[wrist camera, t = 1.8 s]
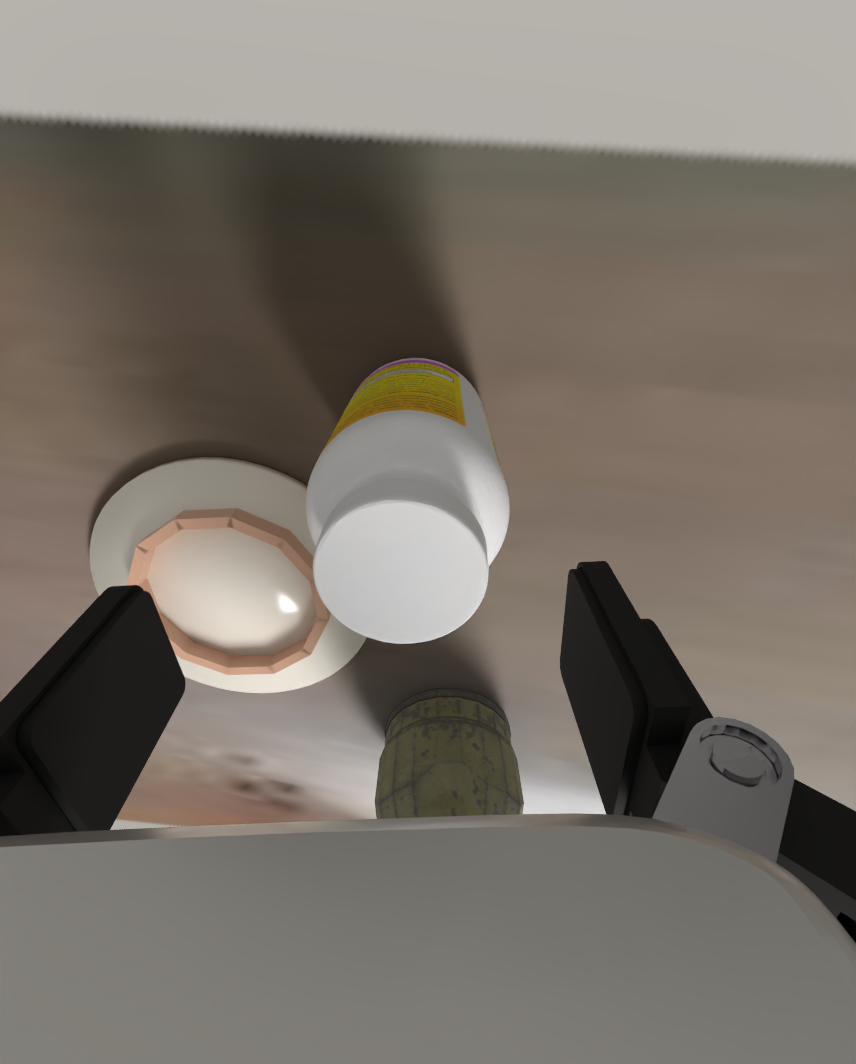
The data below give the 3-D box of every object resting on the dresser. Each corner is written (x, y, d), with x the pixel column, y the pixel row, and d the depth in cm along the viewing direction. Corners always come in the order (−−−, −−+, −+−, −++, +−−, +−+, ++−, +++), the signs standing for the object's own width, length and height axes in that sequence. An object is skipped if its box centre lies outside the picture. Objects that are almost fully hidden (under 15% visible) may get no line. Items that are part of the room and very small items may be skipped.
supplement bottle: (320, 412, 24) (216, 554, 13) (430, 323, 22) (421, 398, 11) (406, 512, 27) (383, 702, 15) (512, 440, 25) (574, 599, 13)
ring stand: (358, 449, 25) (353, 461, 24) (388, 682, 33) (386, 702, 31) (47, 464, 26) (25, 476, 24) (149, 689, 33) (137, 708, 32)
